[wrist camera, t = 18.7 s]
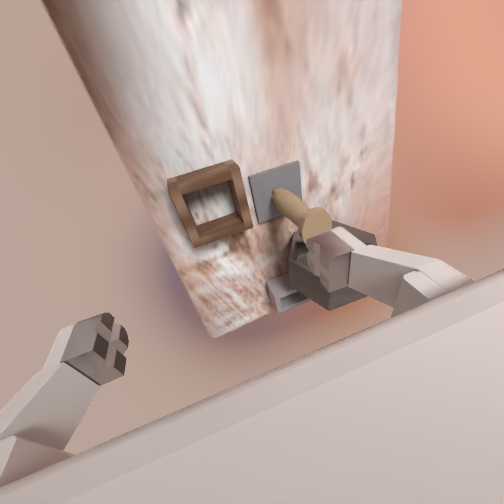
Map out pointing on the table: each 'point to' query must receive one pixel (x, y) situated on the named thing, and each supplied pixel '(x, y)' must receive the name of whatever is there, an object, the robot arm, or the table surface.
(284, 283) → the tray
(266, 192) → the mat
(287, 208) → the handle
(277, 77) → the table surface
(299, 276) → the planter
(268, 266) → the table surface
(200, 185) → the block
